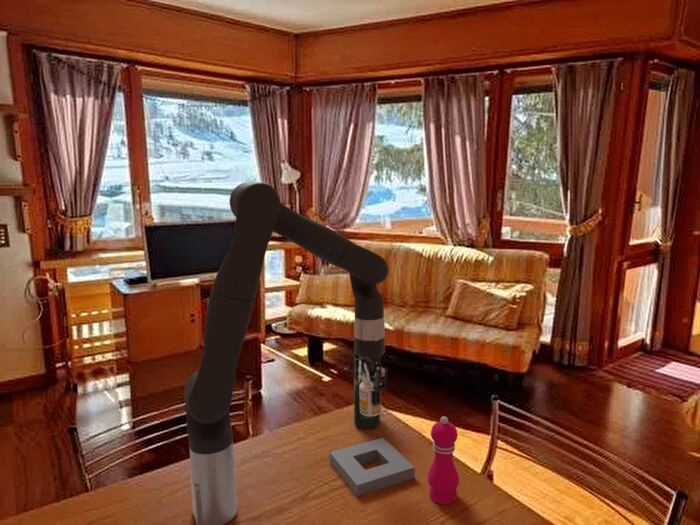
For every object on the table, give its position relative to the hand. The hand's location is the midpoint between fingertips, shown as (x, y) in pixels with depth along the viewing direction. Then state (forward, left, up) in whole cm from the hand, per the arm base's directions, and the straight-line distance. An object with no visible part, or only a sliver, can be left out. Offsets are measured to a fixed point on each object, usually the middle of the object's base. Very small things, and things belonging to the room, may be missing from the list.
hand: (370, 399), depth 127 cm
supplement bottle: (0, 0, -4) cm, 4 cm away
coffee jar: (+11, +23, -20) cm, 32 cm away
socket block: (0, 0, -19) cm, 19 cm away
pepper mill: (+10, -17, -20) cm, 28 cm away
